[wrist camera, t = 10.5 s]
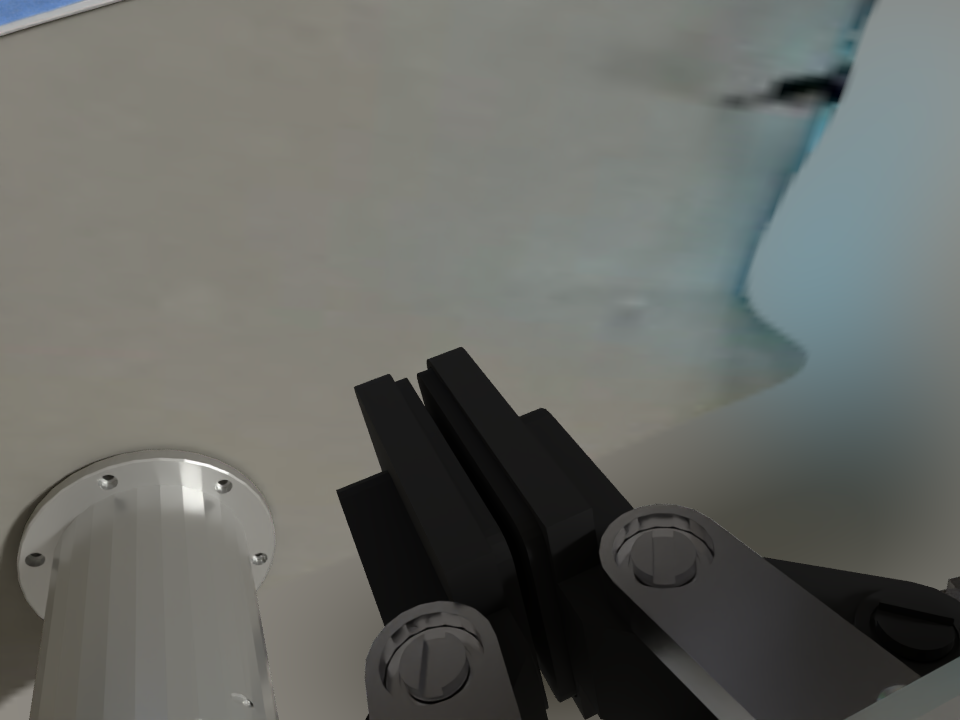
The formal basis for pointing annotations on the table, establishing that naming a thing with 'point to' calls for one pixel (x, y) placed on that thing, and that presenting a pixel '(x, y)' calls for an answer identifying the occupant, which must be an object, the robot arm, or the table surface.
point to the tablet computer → (41, 11)
